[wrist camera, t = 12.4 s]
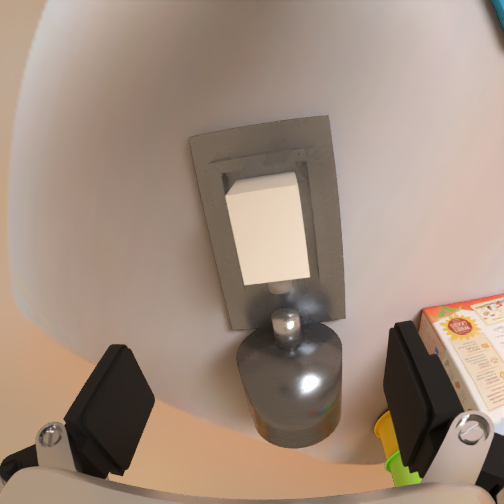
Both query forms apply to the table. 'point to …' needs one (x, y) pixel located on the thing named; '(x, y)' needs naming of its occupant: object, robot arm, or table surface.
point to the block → (269, 230)
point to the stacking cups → (393, 452)
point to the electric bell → (304, 289)
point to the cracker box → (470, 351)
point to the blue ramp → (499, 10)
